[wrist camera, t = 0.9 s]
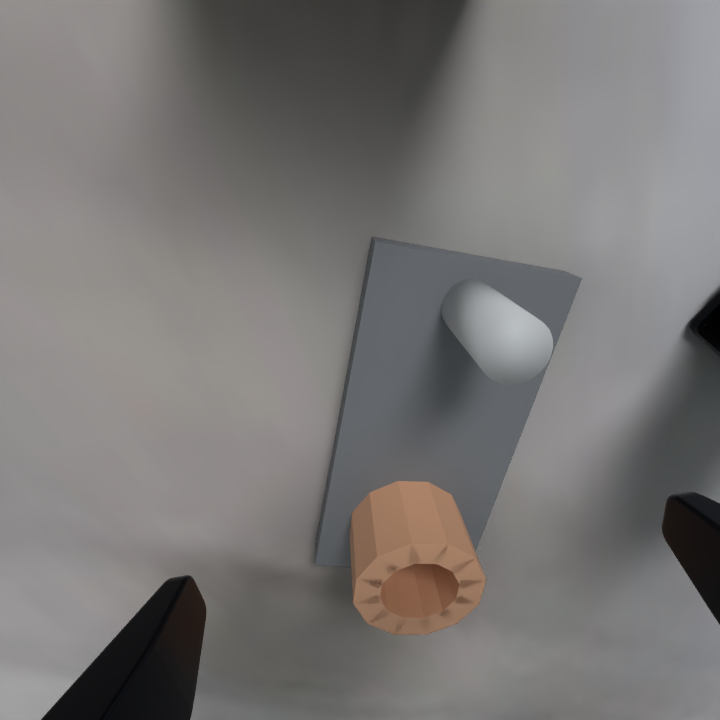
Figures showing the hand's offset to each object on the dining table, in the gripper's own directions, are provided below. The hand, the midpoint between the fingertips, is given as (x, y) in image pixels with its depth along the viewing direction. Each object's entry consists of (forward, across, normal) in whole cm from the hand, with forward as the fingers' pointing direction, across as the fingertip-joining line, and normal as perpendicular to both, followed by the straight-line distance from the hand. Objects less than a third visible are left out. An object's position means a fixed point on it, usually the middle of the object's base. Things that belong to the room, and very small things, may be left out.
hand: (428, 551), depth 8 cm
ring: (+11, 0, +11) cm, 16 cm away
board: (+13, -2, +5) cm, 14 cm away
